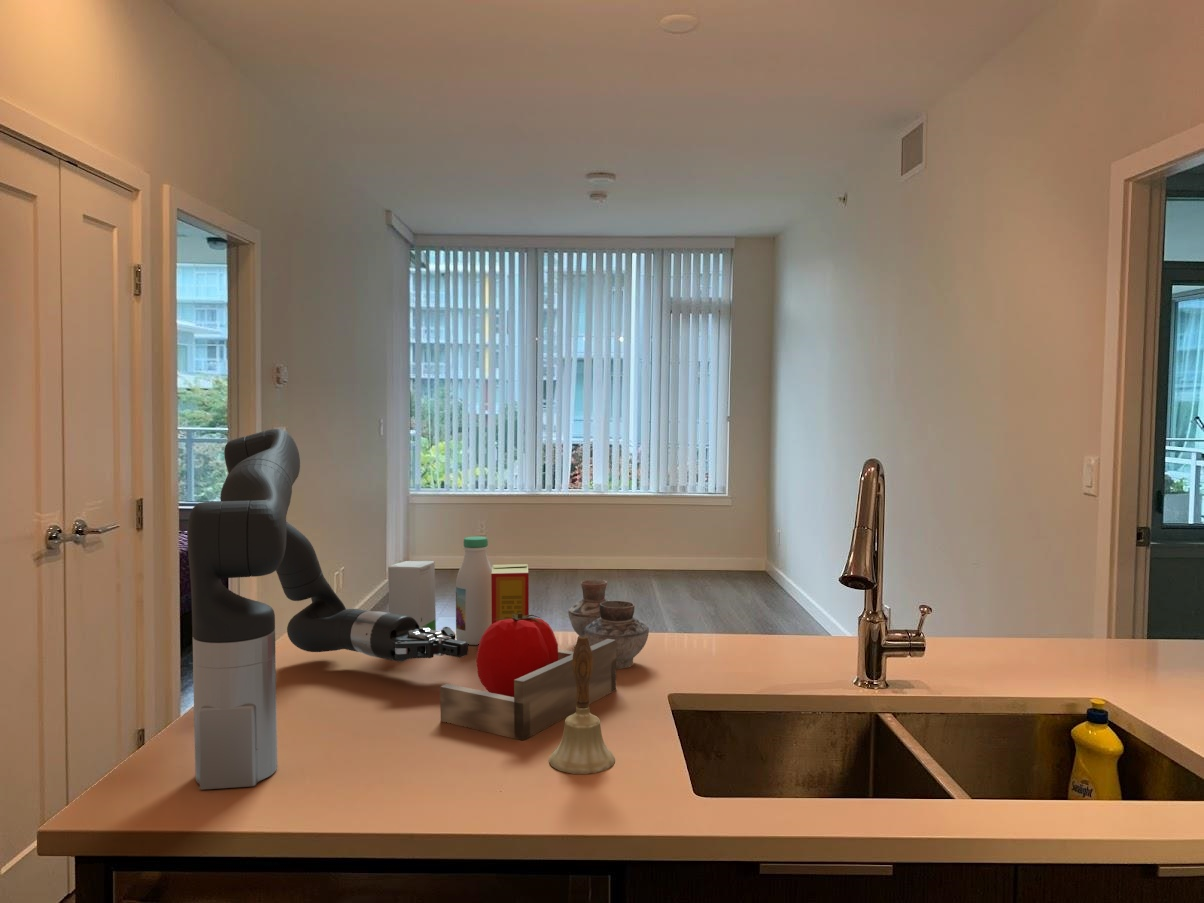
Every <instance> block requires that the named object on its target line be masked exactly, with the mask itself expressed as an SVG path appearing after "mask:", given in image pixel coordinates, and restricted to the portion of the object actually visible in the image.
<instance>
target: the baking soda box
mask: <svg viewBox="0 0 1204 903" xmlns="http://www.w3.org/2000/svg"><path fill="white" fill-rule="evenodd" d="M491 567H492V573H491V596H492V624H493V623H495V622H497V621H499V620H505V619H501V618H510V619H512V617H514V616H513V615H512V614H515V615H517V616H518V613H522V616H526V615H530V612H529V611H530V610H529V608H530V606H529V605H530V604H529V602H530V600H529V599H530V598H529V596H530V595H529V575H530V574H529V563H507V564H506V563H503V564H502V563H501V564H500V563H499V564H498V563H497V564H495V563H494V564H492V565H491ZM494 619H497V620H494Z"/></svg>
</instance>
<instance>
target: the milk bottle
mask: <svg viewBox="0 0 1204 903" xmlns="http://www.w3.org/2000/svg"><path fill="white" fill-rule="evenodd" d="M488 542H489V540H488V537H485V536H468V537H467V536H466V537H465V538H463V550H464V555H463V559H462V563H461V565H460V567H459V569H458V572H457V575H456V581H455V582H456V583H455V640H459V641H464V642H467V643H468V644H469V645H468V646H478V644H479V642H480V640H481V637H482V636H483V634H484V632H485V631H486V630H487V629H488V628H489V626H490V625H491V624H492V596H491V573H492V565H491V563H490V560H489V557H488V554H487V553H488V552H487V550H488V548H489V547H488V544H489V543H488Z"/></svg>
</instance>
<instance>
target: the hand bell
mask: <svg viewBox="0 0 1204 903" xmlns="http://www.w3.org/2000/svg"><path fill="white" fill-rule="evenodd" d="M572 665H573V673H574V677H575V680H576V685H577V694H576V712H575V713H573V714H571V715H569V716H567V717H566V718H565V720H564V727H563V728H564V729H563V734H562V736H561V740H560V743H559V744H558V746H557V748H556V749H554V751H552V752H551V754H550V756H549V759H548V762H549V764H550V766H551V767H552V768H554V769H555V770H558V771H559V772H563V773H567V774H573V775H591V774H598V773H601V772H605V771H607V770H609V769H610V768H612V767H613V766H614V764H615V762H616V758H615V756H614V754H613V753H612V751H611V750H610V749H608V747H607V745H606V744H605V741H604V738H603V734H602V728H601V720H600V718H599V717H598V716H597V715H595V714H592V713H591V711H590V705H591V704H589V682H590V679H591V675H592V670H593V655H592V650H591V647H590V644H589V641H588V637H587V636H579V635H578V636H577V640H576V643H575V646H574V649H573V660H572Z"/></svg>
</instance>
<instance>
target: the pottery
mask: <svg viewBox="0 0 1204 903" xmlns="http://www.w3.org/2000/svg"><path fill="white" fill-rule="evenodd" d="M580 585H581V590H582V598H581V600H579V601H578V602H576V603H575V604H574V605H572V606H571V607H570V608H569V609H567V613H568V618H569V621H570V624H571V627H572V629H573V630H574V632H575V633H576V634H577V635H578V636H587V637H588V641H589V644H590V646H592V645H595V644H597V643H599V642H601V641H604V640H606V639H614V640H616V670H618V669H619V670H621V669H626V668H627V669H628V668H630V667H632V666H633V665H634V658H636V656H638V654H640V652H641V651H642V650H643V648H644V647H645V645H646V644H647V641H648V637H649V632H650V628H649V627H648V626H647V624H645V623H644V622H642V621H640V620H639V619H637V618H636V617H634V615H635V614H634V613H635V608H636V607H635V603H633V602H631V601H625V600H624V601H623V600H608V599H606V591H607V590H606V589H607V585H608V581H607V580H605V579H599V578H598V579H597V578H595V579H594V578H590V579H584V580H581V581H580Z"/></svg>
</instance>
